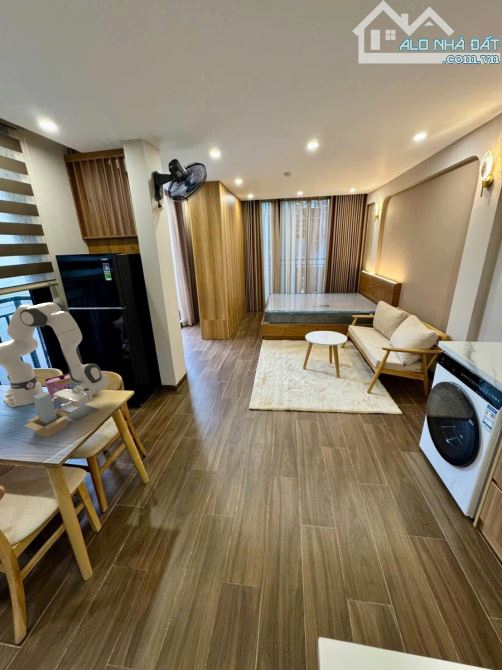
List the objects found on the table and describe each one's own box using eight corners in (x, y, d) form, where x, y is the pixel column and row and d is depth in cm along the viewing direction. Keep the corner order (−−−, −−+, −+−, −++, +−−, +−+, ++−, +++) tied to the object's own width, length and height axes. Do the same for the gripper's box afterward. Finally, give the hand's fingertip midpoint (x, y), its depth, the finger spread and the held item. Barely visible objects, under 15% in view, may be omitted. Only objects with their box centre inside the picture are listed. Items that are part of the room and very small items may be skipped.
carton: (24, 435, 127) (20, 424, 125) (58, 417, 141) (55, 406, 139) (44, 444, 121) (40, 432, 119) (77, 424, 135) (74, 413, 133)
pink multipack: (94, 386, 174) (90, 368, 170) (96, 390, 169) (92, 372, 165) (50, 398, 160) (44, 378, 156) (51, 403, 154) (45, 383, 150)
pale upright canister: (43, 431, 129) (32, 396, 123) (53, 425, 134) (43, 391, 128) (49, 433, 128) (38, 398, 121) (59, 427, 132) (50, 393, 126)
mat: (64, 416, 142) (63, 415, 142) (84, 405, 152) (84, 404, 152) (78, 421, 137) (78, 420, 137) (98, 409, 148) (98, 408, 148)
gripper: (67, 384, 146) (41, 395, 134) (92, 391, 139) (66, 404, 126) (70, 393, 148) (44, 406, 136) (94, 401, 140) (69, 415, 128)
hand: (55, 405), depth 131 cm, fingers open, 8 cm apart
